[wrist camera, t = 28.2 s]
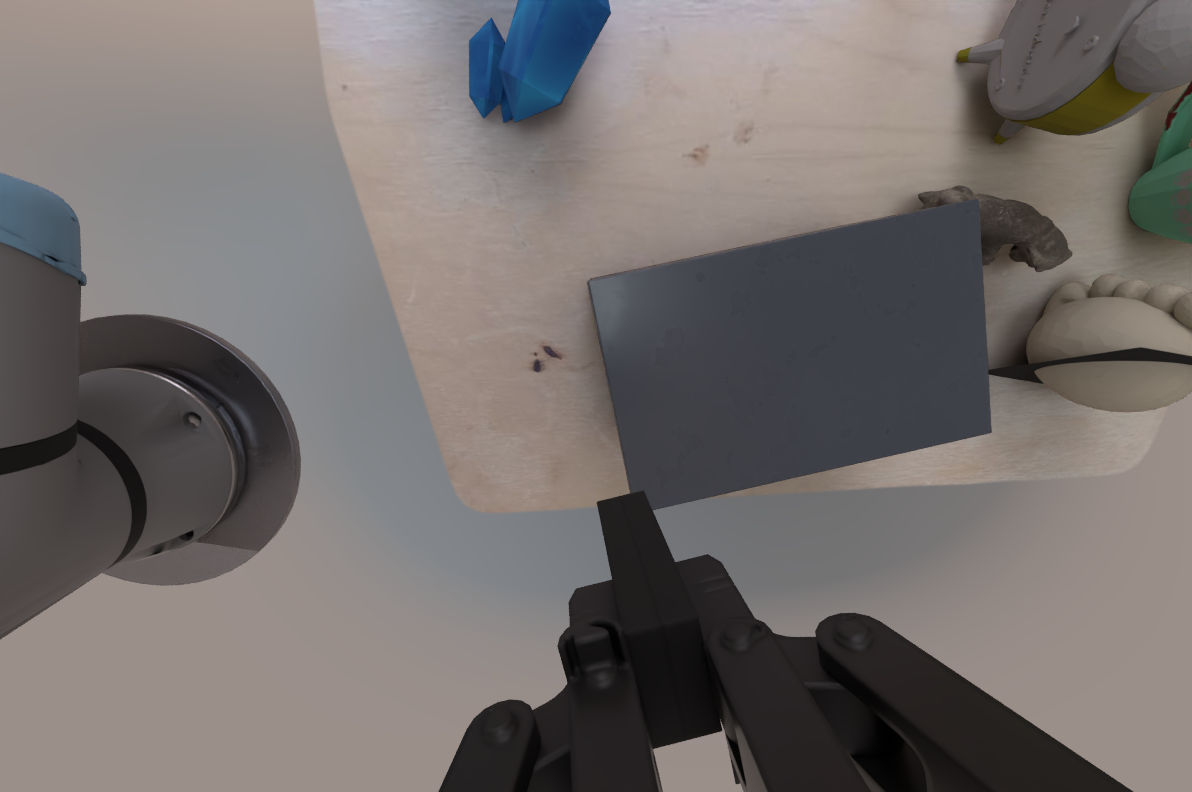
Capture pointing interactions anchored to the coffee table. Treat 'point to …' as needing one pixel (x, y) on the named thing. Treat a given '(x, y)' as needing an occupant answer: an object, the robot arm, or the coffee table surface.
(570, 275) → the coffee table surface
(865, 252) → the dark grey box lid
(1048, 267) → the dog figurine
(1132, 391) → the decorative object
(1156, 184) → the mug
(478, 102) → the crystal
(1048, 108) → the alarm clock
